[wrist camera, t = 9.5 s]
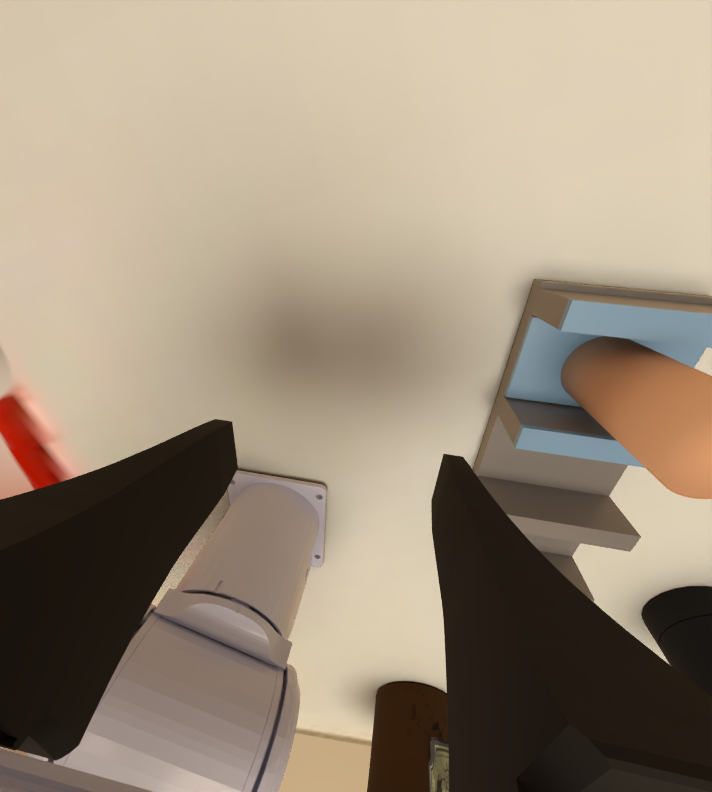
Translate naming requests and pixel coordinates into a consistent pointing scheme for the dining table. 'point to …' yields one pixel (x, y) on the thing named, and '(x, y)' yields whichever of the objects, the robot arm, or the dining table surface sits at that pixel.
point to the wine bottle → (684, 631)
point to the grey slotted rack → (574, 414)
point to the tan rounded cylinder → (648, 408)
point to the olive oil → (409, 740)
